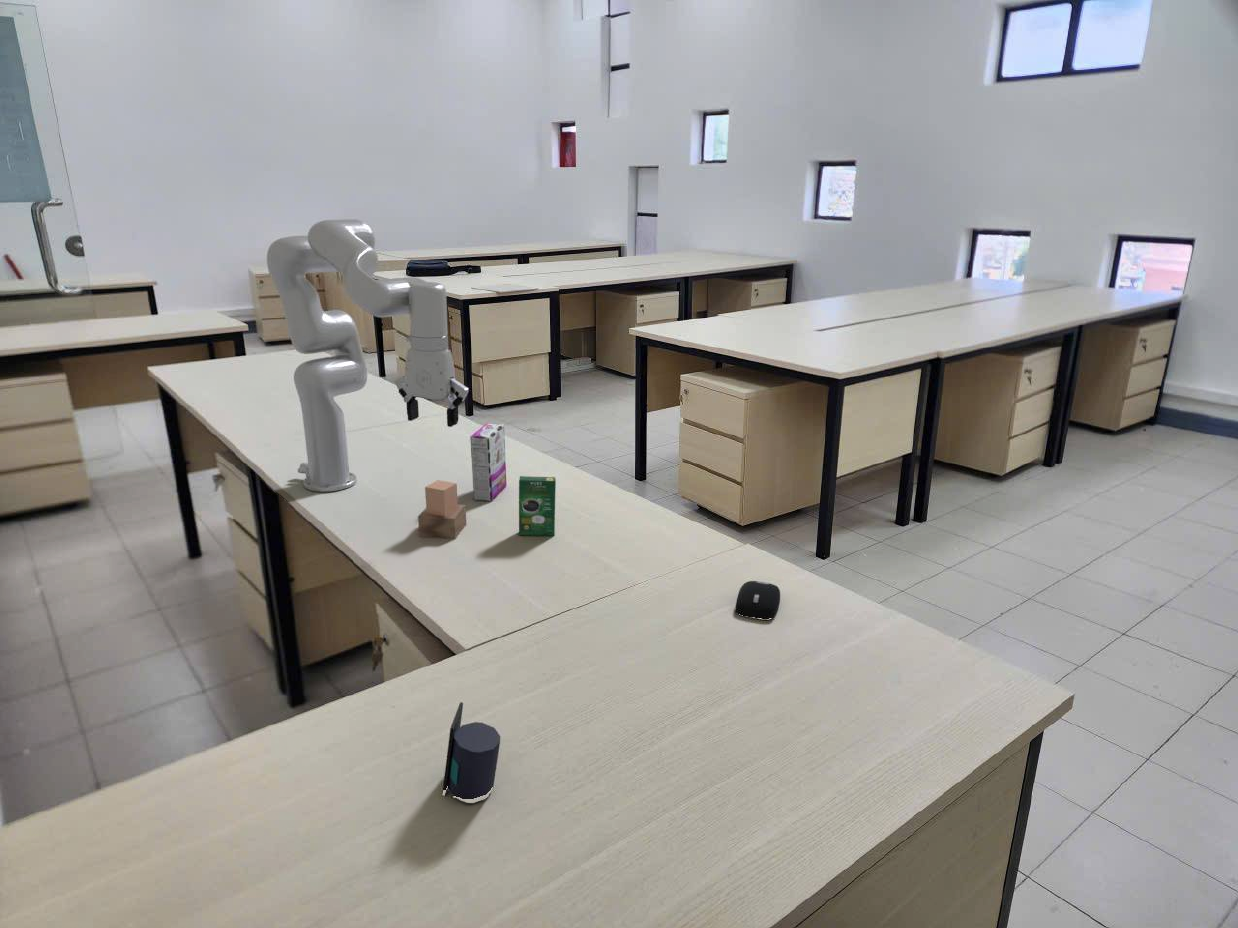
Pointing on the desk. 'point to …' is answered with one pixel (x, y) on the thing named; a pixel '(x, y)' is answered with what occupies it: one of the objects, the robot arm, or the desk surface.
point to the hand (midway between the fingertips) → (432, 422)
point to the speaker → (471, 758)
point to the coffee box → (537, 506)
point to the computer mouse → (758, 600)
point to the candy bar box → (488, 461)
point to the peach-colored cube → (441, 498)
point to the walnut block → (442, 524)
